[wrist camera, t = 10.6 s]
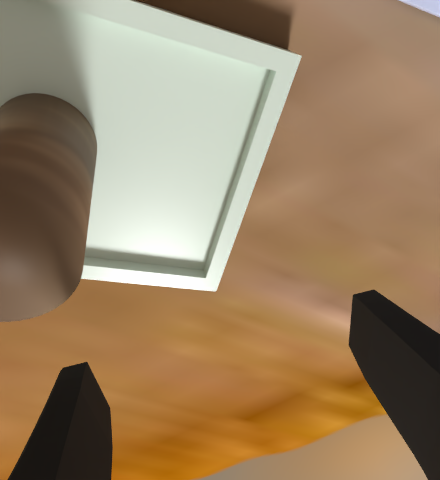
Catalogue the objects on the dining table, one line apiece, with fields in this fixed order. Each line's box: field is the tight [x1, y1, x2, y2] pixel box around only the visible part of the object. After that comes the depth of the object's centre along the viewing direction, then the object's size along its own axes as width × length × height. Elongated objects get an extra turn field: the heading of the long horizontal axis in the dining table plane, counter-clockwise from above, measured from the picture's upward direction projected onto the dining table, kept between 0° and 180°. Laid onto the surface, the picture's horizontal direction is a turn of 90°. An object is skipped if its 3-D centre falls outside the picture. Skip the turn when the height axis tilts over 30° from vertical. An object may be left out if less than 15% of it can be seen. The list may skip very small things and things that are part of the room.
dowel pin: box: [0, 93, 97, 322], centre depth 13 cm, size 4×4×8 cm
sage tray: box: [0, 0, 302, 291], centre depth 16 cm, size 18×12×2 cm, turn 73°
